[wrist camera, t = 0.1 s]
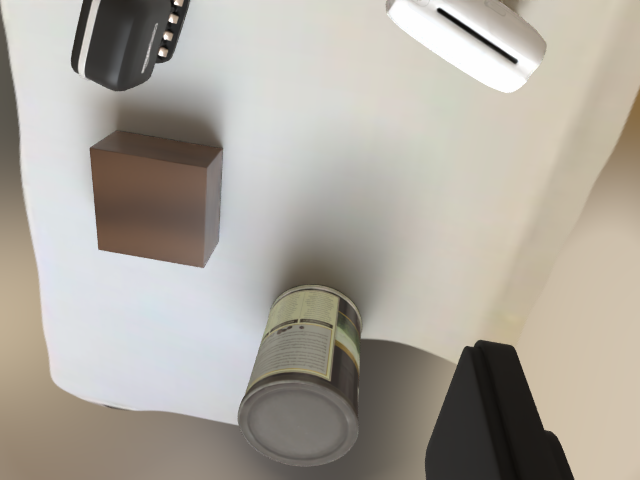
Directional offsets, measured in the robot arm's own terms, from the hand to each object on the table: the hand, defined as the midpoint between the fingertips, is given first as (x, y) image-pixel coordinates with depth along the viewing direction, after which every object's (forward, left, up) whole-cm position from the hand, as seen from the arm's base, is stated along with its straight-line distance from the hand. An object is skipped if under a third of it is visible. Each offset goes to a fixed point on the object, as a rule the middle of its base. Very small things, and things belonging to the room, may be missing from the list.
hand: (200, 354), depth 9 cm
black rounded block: (0, -14, -37) cm, 39 cm away
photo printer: (-4, +8, -37) cm, 38 cm away
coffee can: (+28, +2, -37) cm, 46 cm away
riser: (+15, -14, -37) cm, 42 cm away
